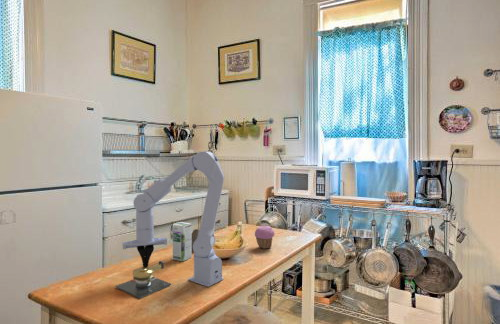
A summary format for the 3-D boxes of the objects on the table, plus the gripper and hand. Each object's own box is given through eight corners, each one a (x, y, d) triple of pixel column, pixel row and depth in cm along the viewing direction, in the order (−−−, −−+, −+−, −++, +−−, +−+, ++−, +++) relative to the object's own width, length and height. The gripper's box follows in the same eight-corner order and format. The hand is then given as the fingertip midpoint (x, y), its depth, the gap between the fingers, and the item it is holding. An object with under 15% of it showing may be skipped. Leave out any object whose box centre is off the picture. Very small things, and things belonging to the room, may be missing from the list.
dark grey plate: (172, 284, 109) (171, 275, 109) (140, 298, 99) (139, 288, 99) (147, 275, 117) (147, 266, 117) (115, 287, 107) (115, 278, 107)
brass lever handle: (143, 281, 103) (143, 274, 103) (128, 277, 106) (128, 270, 106) (170, 268, 114) (170, 261, 114) (156, 265, 117) (156, 258, 117)
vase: (197, 246, 152) (196, 227, 151) (207, 249, 147) (207, 229, 147) (185, 249, 146) (185, 230, 146) (195, 252, 142) (195, 232, 142)
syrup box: (171, 259, 133) (171, 224, 133) (181, 255, 139) (181, 221, 138) (183, 261, 131) (182, 225, 130) (192, 257, 136) (192, 222, 135)
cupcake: (278, 247, 149) (278, 226, 149) (264, 252, 143) (264, 229, 143) (264, 243, 156) (264, 222, 155) (250, 247, 150) (250, 225, 149)
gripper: (164, 223, 120) (164, 260, 121) (121, 227, 114) (122, 265, 115) (168, 228, 114) (168, 266, 114) (123, 232, 108) (123, 273, 109)
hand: (145, 266), depth 114 cm, fingers closed
